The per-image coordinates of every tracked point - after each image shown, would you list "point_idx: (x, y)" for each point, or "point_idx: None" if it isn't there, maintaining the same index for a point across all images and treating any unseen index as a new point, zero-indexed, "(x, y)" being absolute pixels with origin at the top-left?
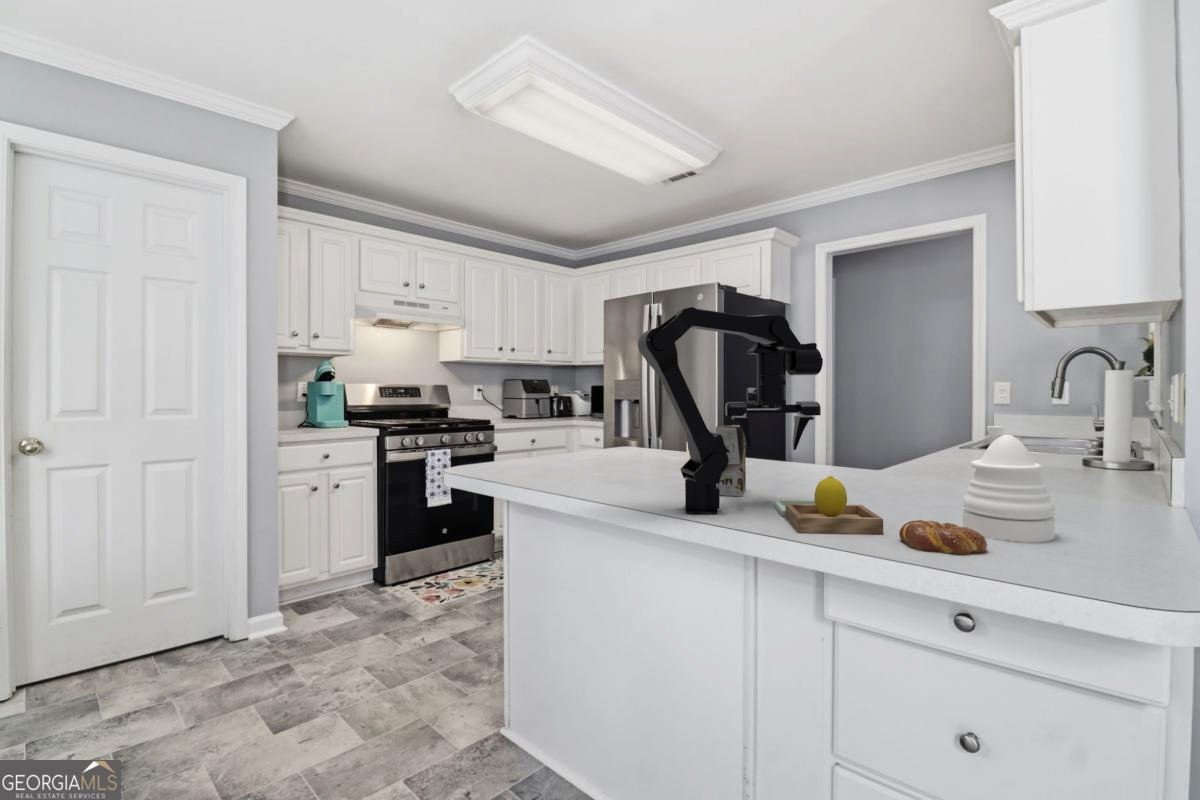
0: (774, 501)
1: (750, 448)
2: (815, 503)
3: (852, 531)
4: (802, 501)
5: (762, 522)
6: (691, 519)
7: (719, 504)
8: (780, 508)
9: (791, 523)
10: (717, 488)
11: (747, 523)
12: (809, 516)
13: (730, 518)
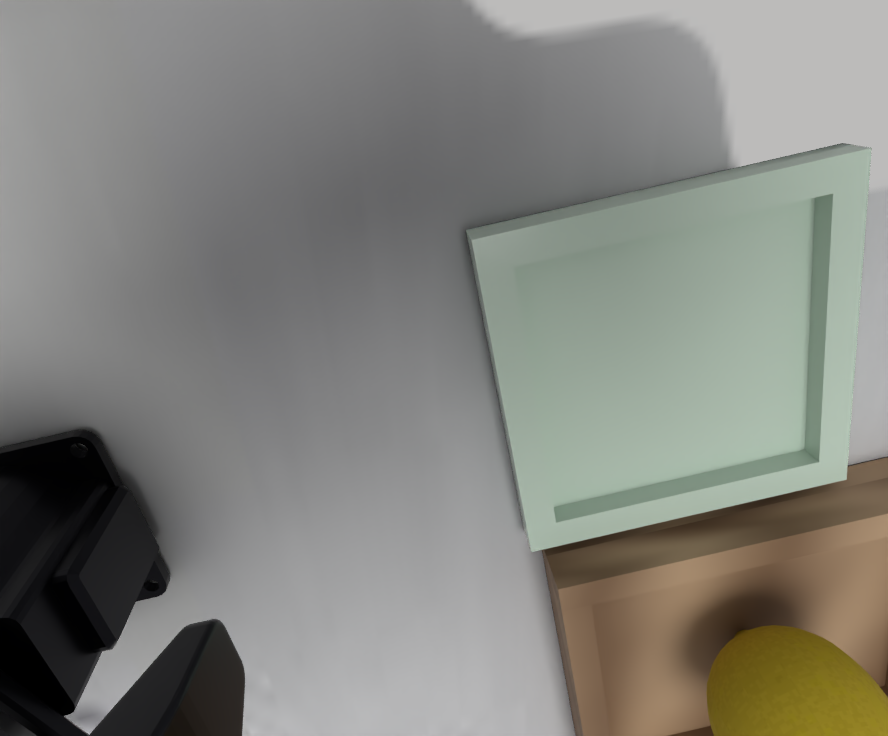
0: (481, 292)
1: (241, 700)
2: (710, 720)
3: None
4: (682, 225)
5: (431, 652)
6: (86, 701)
7: (151, 565)
8: (521, 500)
9: (561, 655)
10: (98, 645)
11: (366, 686)
12: (657, 605)
13: (266, 631)
